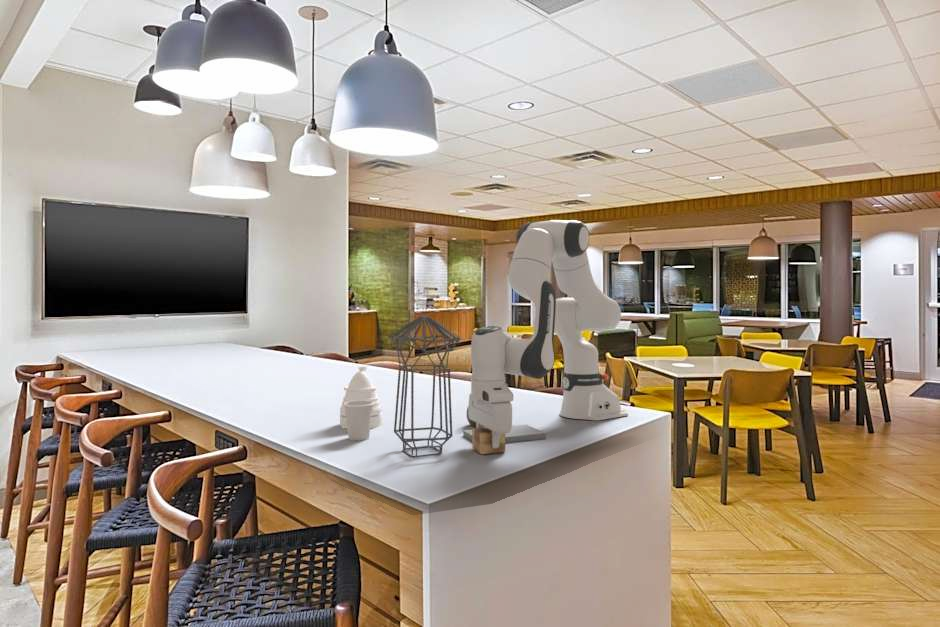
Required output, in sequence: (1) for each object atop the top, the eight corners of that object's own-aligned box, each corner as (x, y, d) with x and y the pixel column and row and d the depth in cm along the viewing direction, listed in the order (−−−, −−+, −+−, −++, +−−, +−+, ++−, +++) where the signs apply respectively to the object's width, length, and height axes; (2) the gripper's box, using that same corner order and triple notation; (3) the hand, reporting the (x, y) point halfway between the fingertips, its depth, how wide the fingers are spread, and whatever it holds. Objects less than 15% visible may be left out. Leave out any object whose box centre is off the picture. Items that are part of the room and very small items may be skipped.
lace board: (526, 429, 177) (526, 399, 176) (545, 438, 165) (545, 406, 165) (463, 435, 169) (463, 404, 169) (479, 445, 158) (479, 411, 158)
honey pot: (348, 420, 192) (347, 364, 191) (387, 421, 190) (386, 364, 189) (333, 429, 179) (332, 369, 178) (375, 430, 177) (374, 369, 177)
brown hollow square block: (494, 445, 157) (494, 426, 157) (505, 451, 151) (505, 432, 151) (472, 448, 154) (472, 429, 154) (481, 454, 148) (481, 434, 148)
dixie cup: (347, 442, 162) (346, 406, 161) (341, 436, 169) (340, 401, 169) (377, 439, 165) (377, 404, 165) (369, 433, 173) (369, 399, 172)
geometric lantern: (386, 448, 156) (387, 315, 156) (442, 443, 162) (444, 315, 162) (401, 462, 142) (402, 316, 141) (462, 457, 147) (464, 316, 147)
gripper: (462, 385, 161) (462, 435, 161) (492, 397, 142) (493, 454, 142) (483, 383, 163) (484, 433, 163) (516, 395, 144) (517, 451, 144)
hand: (488, 443), depth 153 cm, fingers closed on brown hollow square block, 6 cm apart
